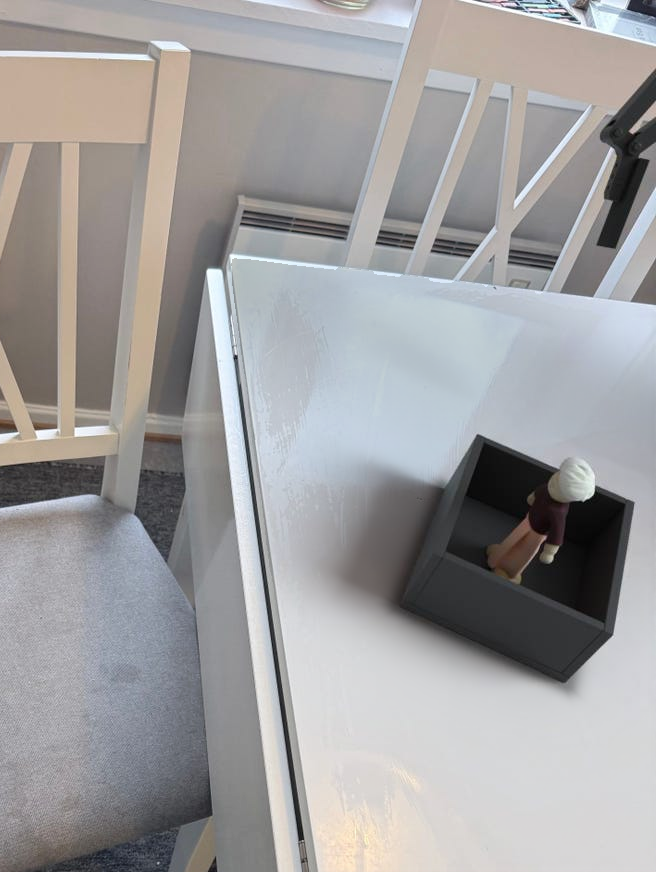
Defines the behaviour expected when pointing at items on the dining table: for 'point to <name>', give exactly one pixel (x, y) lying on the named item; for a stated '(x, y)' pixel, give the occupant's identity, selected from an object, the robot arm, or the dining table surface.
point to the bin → (540, 583)
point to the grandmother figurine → (543, 520)
